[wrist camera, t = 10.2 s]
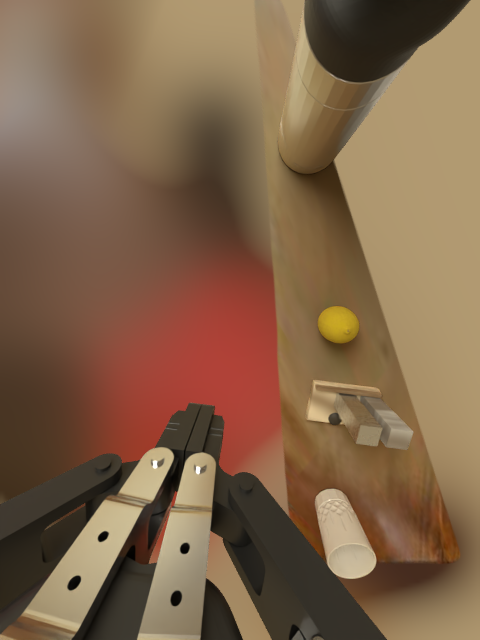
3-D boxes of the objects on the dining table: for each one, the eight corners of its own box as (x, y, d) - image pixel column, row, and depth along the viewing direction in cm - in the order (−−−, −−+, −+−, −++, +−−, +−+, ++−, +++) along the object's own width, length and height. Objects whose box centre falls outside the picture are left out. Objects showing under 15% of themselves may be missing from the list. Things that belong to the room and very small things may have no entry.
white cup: (307, 490, 47) (321, 548, 37) (345, 481, 46) (370, 538, 36) (317, 519, 48) (334, 582, 39) (354, 511, 48) (381, 573, 38)
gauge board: (312, 379, 41) (332, 414, 32) (377, 387, 41) (416, 425, 31) (305, 416, 43) (321, 460, 33) (367, 424, 43) (401, 471, 33)
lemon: (349, 327, 39) (373, 342, 31) (318, 338, 40) (334, 355, 32) (339, 297, 38) (362, 305, 30) (307, 309, 39) (322, 320, 31)
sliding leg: (337, 391, 40) (360, 425, 32) (354, 393, 40) (382, 428, 32) (331, 414, 41) (353, 454, 33) (348, 417, 41) (374, 457, 33)
